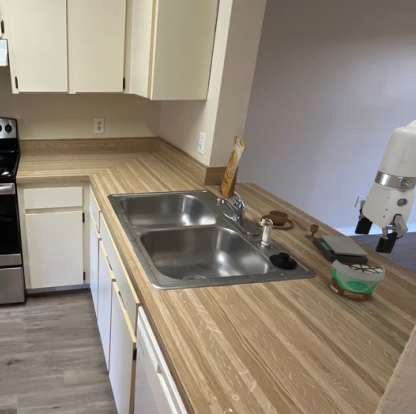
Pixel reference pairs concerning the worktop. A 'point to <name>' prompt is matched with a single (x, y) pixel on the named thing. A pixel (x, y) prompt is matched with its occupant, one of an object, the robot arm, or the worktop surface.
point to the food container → (355, 280)
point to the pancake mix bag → (232, 168)
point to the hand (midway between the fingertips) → (371, 242)
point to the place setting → (282, 218)
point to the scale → (339, 257)
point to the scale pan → (343, 245)
